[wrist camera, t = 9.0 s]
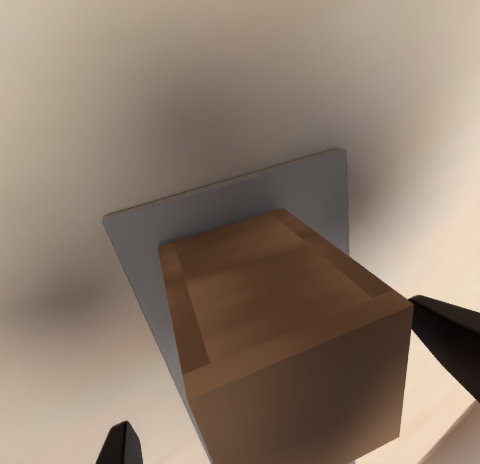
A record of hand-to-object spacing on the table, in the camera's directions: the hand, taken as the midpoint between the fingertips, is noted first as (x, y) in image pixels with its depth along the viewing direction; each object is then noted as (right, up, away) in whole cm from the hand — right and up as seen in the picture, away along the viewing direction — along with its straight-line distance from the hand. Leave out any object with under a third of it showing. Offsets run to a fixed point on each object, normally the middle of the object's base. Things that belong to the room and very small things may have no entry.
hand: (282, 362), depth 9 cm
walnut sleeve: (-1, +2, +4) cm, 5 cm away
